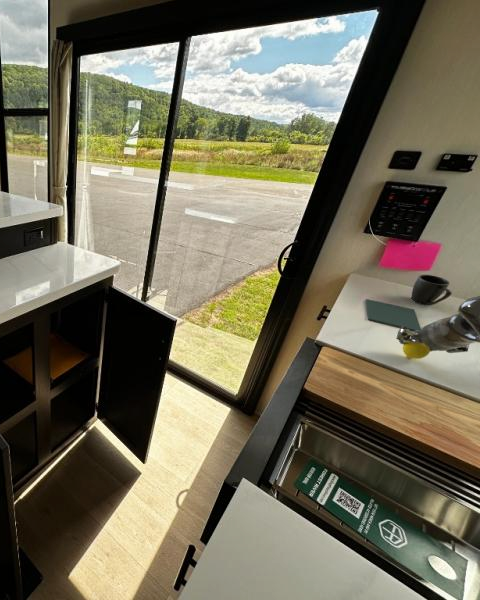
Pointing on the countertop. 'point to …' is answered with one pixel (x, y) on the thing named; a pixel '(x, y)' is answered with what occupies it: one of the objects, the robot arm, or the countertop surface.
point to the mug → (430, 289)
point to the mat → (392, 315)
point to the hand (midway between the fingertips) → (415, 344)
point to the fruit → (415, 350)
